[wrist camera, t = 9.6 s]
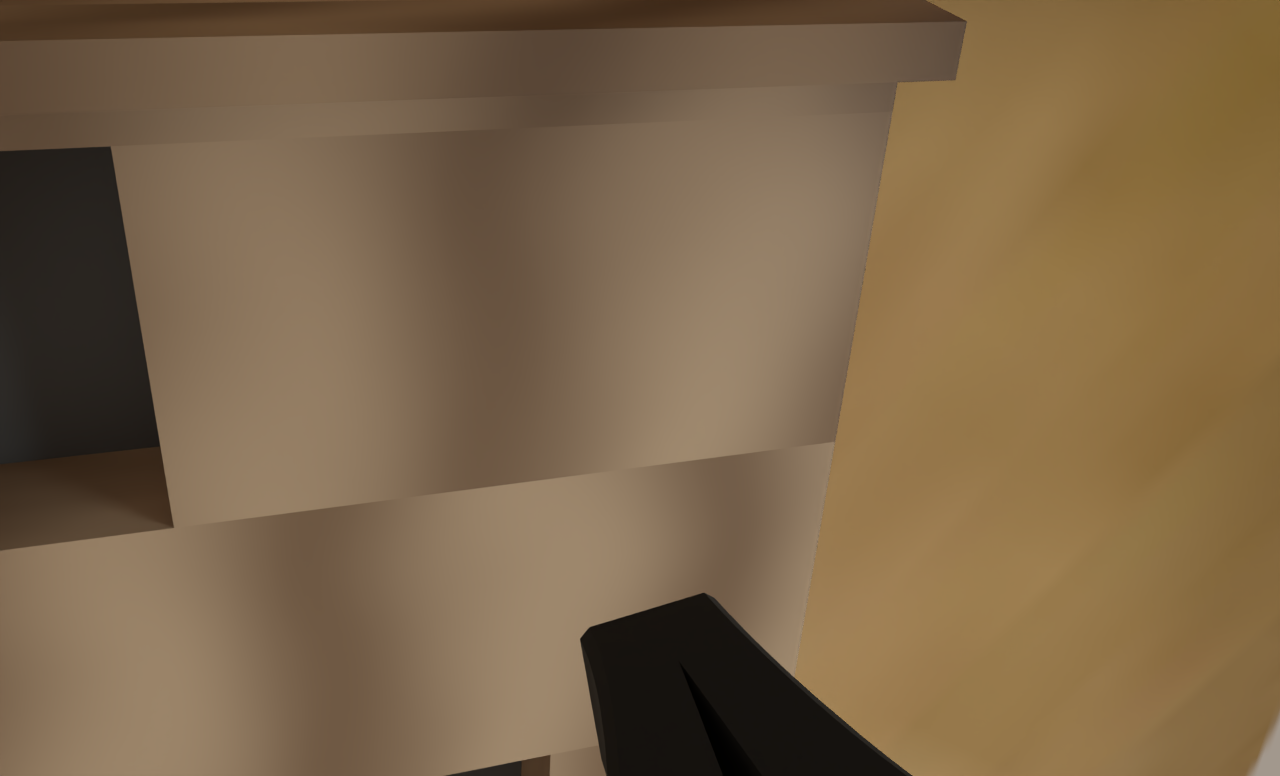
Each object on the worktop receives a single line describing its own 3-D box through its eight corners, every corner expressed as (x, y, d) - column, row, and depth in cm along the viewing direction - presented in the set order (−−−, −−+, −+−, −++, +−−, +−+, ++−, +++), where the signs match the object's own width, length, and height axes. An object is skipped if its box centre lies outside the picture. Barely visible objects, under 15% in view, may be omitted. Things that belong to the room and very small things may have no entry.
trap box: (837, -45, 20) (1029, 52, 15) (710, 858, 31) (799, 1064, 27) (-1126, -41, 13) (-1803, 136, 9) (-374, 1109, 24) (-498, 1444, 20)
